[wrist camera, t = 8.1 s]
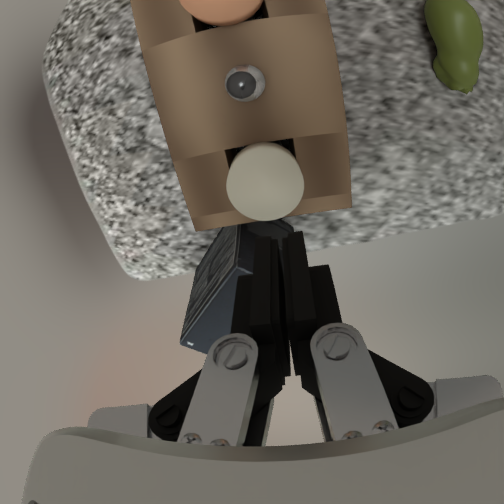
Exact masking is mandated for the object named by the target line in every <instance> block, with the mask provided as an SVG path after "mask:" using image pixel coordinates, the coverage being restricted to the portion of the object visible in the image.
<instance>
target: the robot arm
mask: <svg viewBox="0 0 504 504" xmlns="http://www.w3.org/2000/svg"><path fill="white" fill-rule="evenodd" d="M287 235H288V237H284V238H282V248H283V265H284V274H283V268H282V262H281V256H280V250H279V245H278V240H277V239H272V237H271V235H269V236H261V237H256V238H255V250H254V263H253V274H248V275H239V276H238V279H237V286H236V293H235V301H234V308H233V316H232V324H231V331H230V334H228V335H225V336H223V337H221V338H219V339H218V340H216V341H215V342H214V343H213V344H212V346H211V348H210V349H209V351H208V354H207V357H206V360H205V363H204V365H203V368H202V369H201V370H200V371H199V372H197V373H196V374H195V375H193V376H192V377H191V378H189V379H188V380H187V381H185V382H184V383H183V384H181V385H180V386H179V387H177V388H176V389H174V390H173V391H172V392H170V393H169V394H168V395H166V396H165V397H164V398H162V399H161V400H159V401H158V402H157V403H156V404H155V405H154V406H149V405H148V404H140V405H131V406H120V407H108V408H100V409H97V410H96V411H95V412H93V413H92V415H91V416H90V418H89V421H88V427H68V428H63V429H59V430H56V431H53V432H51V433H49V434H47V435H46V436H45V437H44V438H43V439H42V440H41V442H40V443H39V445H38V447H37V449H36V451H35V453H34V456H33V459H32V461H31V465H30V468H29V471H28V475H27V479H26V483H25V487H24V492H23V498H22V504H504V398H503V393H502V388H501V385H500V383H499V382H498V380H497V379H495V378H494V377H492V376H489V375H482V376H473V377H463V378H451V379H436V381H435V382H426V381H424V380H423V379H421V378H419V377H418V376H416V375H414V374H412V373H410V372H408V371H407V370H405V369H403V368H401V367H399V366H397V365H395V364H394V363H392V362H390V361H388V360H386V359H384V358H383V357H381V356H379V355H377V354H375V353H373V352H372V351H370V350H368V349H367V347H366V345H365V343H364V340H363V338H362V336H361V334H360V333H359V331H358V330H357V329H355V328H354V327H353V326H351V325H348V324H345V323H342V320H341V315H340V310H339V306H338V302H337V297H336V293H335V288H334V284H333V280H332V275H331V272H330V268H329V265H321V266H313V267H308V261H307V255H306V249H305V243H304V237H303V232H302V231H298V232H291V233H287ZM289 340H290V342H289ZM290 346H291V352H292V358H293V364H294V370H295V375H296V376H297V375H301V382H302V388H303V389H305V390H306V391H308V392H309V393H310V394H312V395H313V396H314V402H315V406H316V410H317V414H318V418H319V422H320V426H321V430H322V434H323V439H324V442H323V443H315V444H303V445H291V446H265V445H266V440H267V436H268V430H269V425H270V420H271V415H272V410H273V405H274V397H275V396H276V395H277V394H278V393H279V392H280V391H281V390H282V385H285V377H287V376H291V369H290Z"/></svg>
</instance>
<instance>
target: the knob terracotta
mask: <svg viewBox="0 0 504 504" xmlns="http://www.w3.org/2000/svg"><path fill="white" fill-rule="evenodd" d="M179 1H180V3H181V5H182V6H183V7H184V8H185V9H186V10H187V11H188V12H189V13H190V14H191V15H193V16H194V17H195V18H197V19H198V20H200V21H201V22H204V23H206V24H210V25H215V26H217V27H221V26H229V25H234V24H238V23H240V22H245V21H251V20H253V18H254V16H255V13H256V12H257V11H258V9H259V8H260V6H261V4H262V2H263V0H179Z"/></svg>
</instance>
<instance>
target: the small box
mask: <svg viewBox="0 0 504 504" xmlns="http://www.w3.org/2000/svg"><path fill="white" fill-rule="evenodd" d="M291 232H294V229H293V227H292V226H290V225H289V224H287V223H285V222H284V221H282V220H280V219H276V220H271V221H256V222H250V223H244V224H237V225H231V226H225V227H223V228H222V229H221V231H220V232H219V234H218V235H217V237H216V239H215V240H214V242H213V243H212V244H211V246H210V248H209V249H208V251H207V253H206V254H205V256H204V257H203V259H202V261H201V262H200V264H199V266H198V267H197V269H196V272H195V277H194V282H193V287H192V290H191V295H190V301H189V304H188V308H187V312H186V316H185V321H184V325H183V330H182V335H181V338H180V345H182V346H186V347H188V348H191V349H194V350H196V351H199V352H202V353H205V354H208V351H209V349H210V348H211V346H212V344H213V343H214V342H215V341H216V340H218V339H219V338H221V337H223V336H225V335H228V334H230V331H231V324H232V316H233V308H234V301H235V293H236V286H237V279H238V276H239V275H248V274H253V263H254V250H255V238H256V237H261V236H269V235H271V237H272V239H277V240H278V245H279V250H280V256H281V262H282V268H283V274H284V265H283V248H282V238H284V237H288V235H287V233H291Z"/></svg>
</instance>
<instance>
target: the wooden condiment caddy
mask: <svg viewBox="0 0 504 504" xmlns="http://www.w3.org/2000/svg"><path fill="white" fill-rule="evenodd" d="M130 2H131V6H132V11H133V16H134V20H135V25H136V29H137V33H138V37H139V42H140V46H141V50H142V54H143V58H144V62H145V66H146V70H147V74H148V77H149V81H150V85H151V89H152V92H153V96H154V100H155V103H156V107H157V110H158V114H159V117H160V121H161V124H162V128H163V131H164V134H165V138H166V141H167V144H168V148H169V151H170V154H171V157H172V161H173V164H174V167H175V170H176V173H177V177H178V180H179V183H180V186H181V189H182V192H183V195H184V198H185V201H186V204H187V207H188V210H189V213H190V216H191V219H192V222H193V225H194V228H195V231H202V230H208V229H214V228H219V227H225V226H231V225H237V224H244V223H250V222H256V221H260V220H255V219H251V218H249V217H247V216H245V215H243V214H241V213H240V212H239V211H238V210H237V209H236V208H235V207H234V206H233V205H232V203H231V201H230V199H229V197H228V194H227V189H226V183H227V177H228V173H229V170H230V167H231V164H232V161H233V160H234V158H235V156H236V155H237V151H236V147H241V146H247V145H251V144H254V143H259V142H270V141H276V140H282V139H288V142H289V148H290V152H291V154H292V155H293V156H294V157H295V159H296V161H297V163H298V165H299V168H300V170H301V173H302V175H303V179H304V192H303V196H302V198H301V200H300V202H299V204H298V205H297V206H296V208H295V209H294V210H293V211H292V212H290V213H289V214H287V215H286V216H284V217H288V216H295V215H302V214H309V213H315V212H323V211H330V210H337V209H344V208H352V197H351V175H350V159H349V146H348V135H347V125H346V116H345V107H344V99H343V92H342V85H341V78H340V72H339V66H338V60H337V54H336V49H335V44H334V39H333V34H332V29H331V25H330V20H329V16H328V11H327V7H326V3H325V0H263V2H262V4H261V10H262V14H263V18H264V19H257V20H251V21H245V22H240V23H238V24H234V25H229V26H221V27H217V28H212V29H208V28H207V24H206V23H204V22H201V21H200V20H198V19H197V18H195V17H194V16H193V15H191V14H190V13H189V12H188V11H187V10H186V9H185V8H184V7H183V6H182V5H181V3H180V1H179V0H130ZM239 65H251V66H254V67H256V68H257V69H259V70H260V71H261V72H262V74H263V76H264V78H265V88H264V91H263V92H262V94H261V95H260V96H259V97H258V98H256V99H254V100H252V101H247V102H243V101H238V100H236V99H234V98H232V97H231V96H230V95H229V94H228V92H227V91H226V88H225V79H226V76H227V74H228V73H229V71H230V70H231V69H233V68H234V67H236V66H239Z"/></svg>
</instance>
